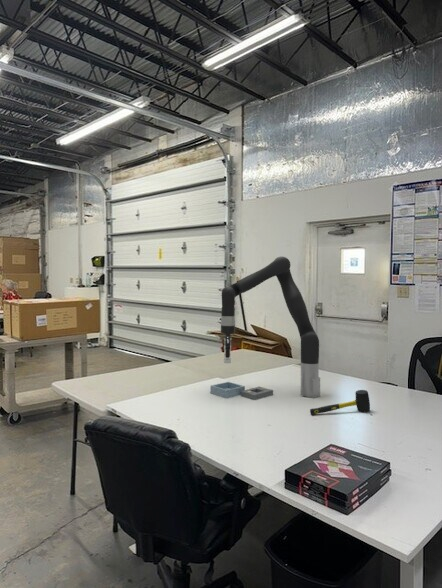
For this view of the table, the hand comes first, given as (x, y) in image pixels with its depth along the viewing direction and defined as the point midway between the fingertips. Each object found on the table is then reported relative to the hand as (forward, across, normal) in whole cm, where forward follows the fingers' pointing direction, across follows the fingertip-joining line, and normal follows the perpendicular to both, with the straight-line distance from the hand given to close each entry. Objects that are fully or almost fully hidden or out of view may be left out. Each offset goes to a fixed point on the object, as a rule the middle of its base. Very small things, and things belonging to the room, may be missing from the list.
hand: (227, 356), depth 219 cm
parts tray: (+20, 0, 0) cm, 20 cm away
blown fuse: (+3, 0, 0) cm, 3 cm away
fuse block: (+20, -4, -16) cm, 25 cm away
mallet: (+19, -33, -51) cm, 64 cm away
